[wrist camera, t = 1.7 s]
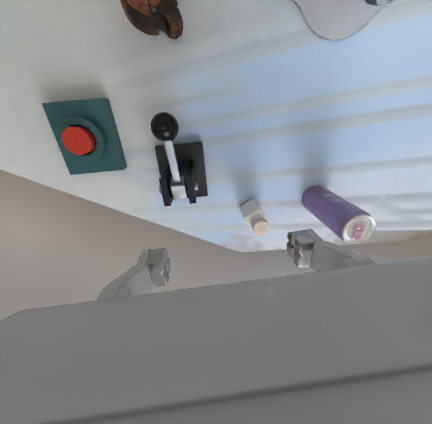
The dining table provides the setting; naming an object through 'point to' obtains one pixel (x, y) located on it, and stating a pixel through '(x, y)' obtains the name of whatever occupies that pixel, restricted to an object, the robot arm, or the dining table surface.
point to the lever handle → (170, 150)
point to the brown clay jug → (154, 16)
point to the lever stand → (183, 170)
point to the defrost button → (78, 140)
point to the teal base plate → (94, 122)
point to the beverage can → (339, 215)
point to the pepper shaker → (255, 217)
